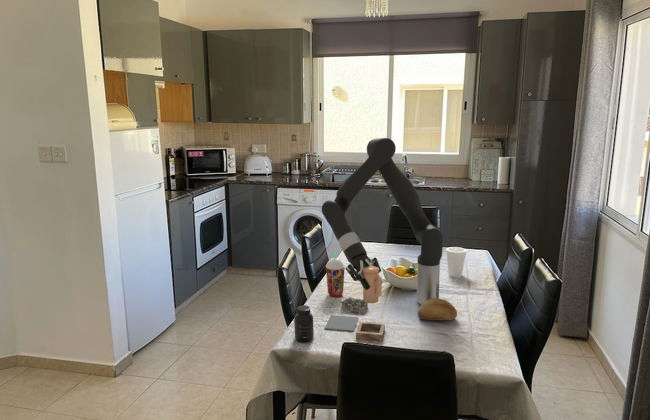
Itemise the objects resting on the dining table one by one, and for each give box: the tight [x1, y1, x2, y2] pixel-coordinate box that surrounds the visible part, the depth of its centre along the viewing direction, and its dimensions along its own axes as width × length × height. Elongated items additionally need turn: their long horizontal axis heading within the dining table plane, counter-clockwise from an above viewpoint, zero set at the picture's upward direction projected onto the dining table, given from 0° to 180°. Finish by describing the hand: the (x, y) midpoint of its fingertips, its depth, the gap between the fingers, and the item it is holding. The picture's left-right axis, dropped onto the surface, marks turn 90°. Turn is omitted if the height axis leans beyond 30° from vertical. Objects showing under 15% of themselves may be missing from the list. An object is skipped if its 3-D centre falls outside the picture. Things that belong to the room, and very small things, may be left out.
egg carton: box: [340, 296, 369, 314], centre depth 197 cm, size 11×8×4 cm
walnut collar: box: [355, 321, 386, 342], centre depth 174 cm, size 9×9×2 cm
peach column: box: [362, 266, 383, 304], centre depth 170 cm, size 8×6×12 cm
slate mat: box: [324, 314, 359, 333], centre depth 183 cm, size 11×12×1 cm
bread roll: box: [417, 298, 458, 321], centre depth 186 cm, size 10×15×8 cm, turn 85°
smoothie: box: [325, 251, 346, 299], centre depth 210 cm, size 8×8×20 cm
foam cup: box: [445, 246, 467, 278], centre depth 235 cm, size 10×9×13 cm
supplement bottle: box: [293, 304, 315, 344], centre depth 170 cm, size 7×7×12 cm
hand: (374, 286), depth 169 cm, fingers closed on peach column, 5 cm apart
